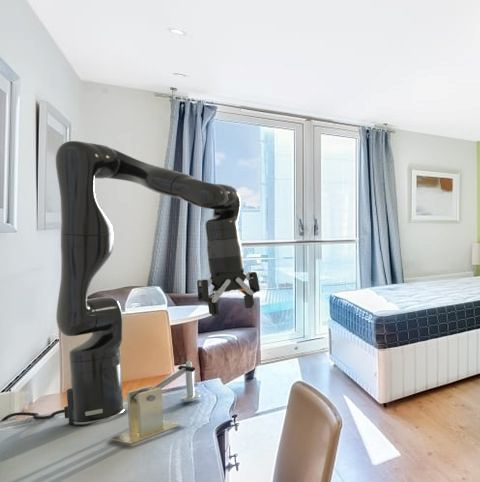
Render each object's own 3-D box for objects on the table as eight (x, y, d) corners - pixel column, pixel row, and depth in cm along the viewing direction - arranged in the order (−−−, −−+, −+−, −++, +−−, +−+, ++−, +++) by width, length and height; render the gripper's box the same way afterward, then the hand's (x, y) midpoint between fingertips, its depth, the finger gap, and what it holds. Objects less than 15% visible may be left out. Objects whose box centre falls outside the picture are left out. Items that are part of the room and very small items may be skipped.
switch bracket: (161, 424, 114) (159, 381, 114) (181, 428, 112) (178, 384, 111) (110, 442, 105) (107, 395, 104) (130, 448, 102) (127, 399, 102)
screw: (199, 398, 131) (203, 402, 128) (178, 404, 127) (181, 408, 124) (197, 357, 130) (201, 360, 127) (175, 361, 126) (179, 364, 123)
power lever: (185, 369, 118) (180, 362, 117) (197, 371, 116) (192, 364, 115) (135, 403, 108) (129, 396, 107) (147, 406, 106) (141, 399, 105)
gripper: (244, 252, 128) (250, 305, 129) (186, 258, 115) (194, 318, 116) (260, 251, 125) (267, 306, 127) (204, 258, 112) (212, 318, 113)
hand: (232, 311), depth 121 cm, fingers open, 8 cm apart
